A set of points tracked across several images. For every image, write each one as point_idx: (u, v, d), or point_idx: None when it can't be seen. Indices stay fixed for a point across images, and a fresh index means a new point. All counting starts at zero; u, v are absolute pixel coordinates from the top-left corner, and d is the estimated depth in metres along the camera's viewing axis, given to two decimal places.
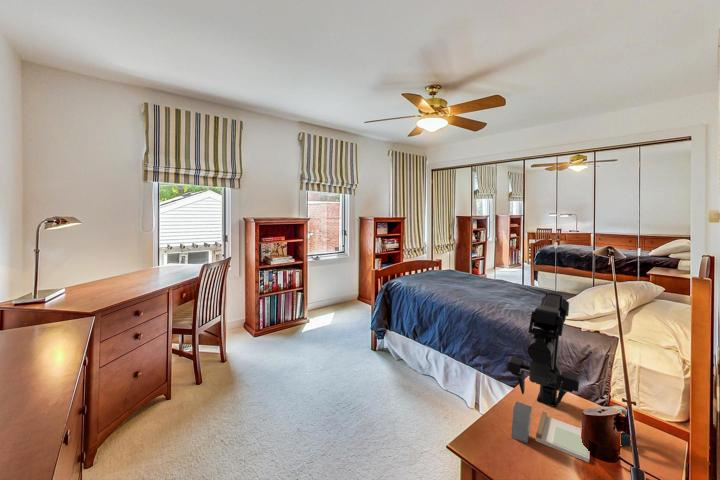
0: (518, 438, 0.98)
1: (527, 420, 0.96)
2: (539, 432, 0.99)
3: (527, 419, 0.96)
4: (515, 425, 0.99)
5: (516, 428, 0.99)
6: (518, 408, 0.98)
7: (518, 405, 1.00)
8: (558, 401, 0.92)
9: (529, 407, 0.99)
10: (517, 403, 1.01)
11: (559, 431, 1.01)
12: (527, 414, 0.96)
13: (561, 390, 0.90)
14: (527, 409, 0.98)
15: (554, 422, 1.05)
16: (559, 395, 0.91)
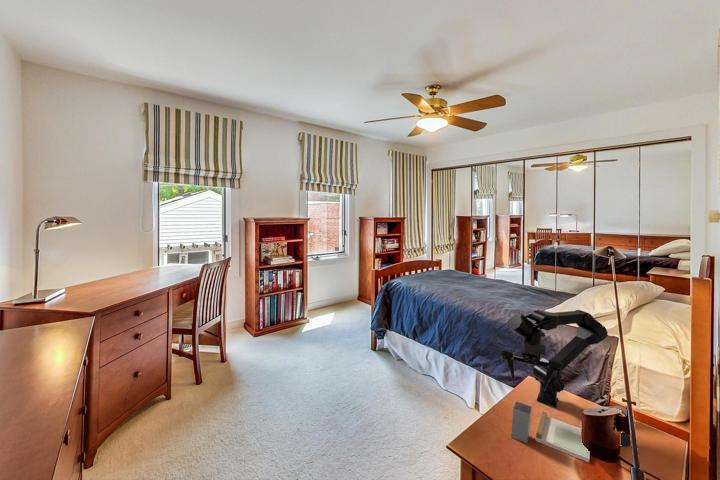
0: (518, 438, 0.98)
1: (527, 420, 0.96)
2: (539, 432, 0.99)
3: (527, 419, 0.96)
4: (515, 425, 0.99)
5: (516, 428, 0.99)
6: (518, 408, 0.98)
7: (518, 405, 1.00)
8: (545, 385, 1.03)
9: (529, 408, 0.99)
10: (517, 403, 1.01)
11: (559, 431, 1.01)
12: (527, 414, 0.96)
13: (548, 371, 1.04)
14: (527, 409, 0.98)
15: (554, 422, 1.05)
16: (546, 378, 1.04)
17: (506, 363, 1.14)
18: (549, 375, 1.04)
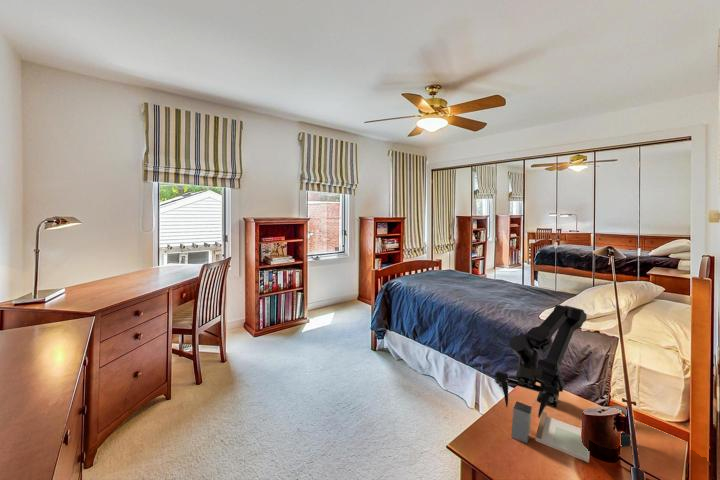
0: (518, 438, 0.98)
1: (527, 420, 0.96)
2: (539, 432, 0.99)
3: (527, 419, 0.96)
4: (515, 425, 0.99)
5: (516, 428, 0.99)
6: (518, 408, 0.98)
7: (518, 405, 1.00)
8: (540, 411, 0.97)
9: (529, 408, 0.99)
10: (517, 403, 1.01)
11: (559, 431, 1.01)
12: (527, 414, 0.96)
13: (543, 396, 0.98)
14: (527, 409, 0.98)
15: (554, 422, 1.05)
16: (541, 404, 0.98)
17: (500, 386, 1.08)
18: (545, 401, 0.98)
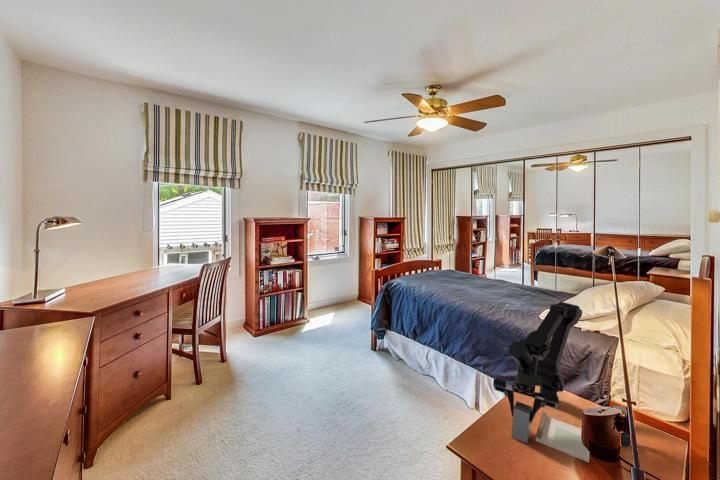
0: (518, 438, 0.98)
1: (527, 420, 0.96)
2: (539, 432, 0.99)
3: (527, 419, 0.96)
4: (516, 425, 0.98)
5: (516, 428, 0.99)
6: (518, 408, 0.98)
7: (518, 405, 1.00)
8: (532, 416, 0.97)
9: (529, 407, 0.99)
10: (518, 403, 1.01)
11: (559, 431, 1.01)
12: (527, 414, 0.96)
13: (535, 402, 0.98)
14: (527, 409, 0.98)
15: (554, 422, 1.05)
16: (533, 409, 0.98)
17: (505, 394, 1.06)
18: (536, 406, 0.98)
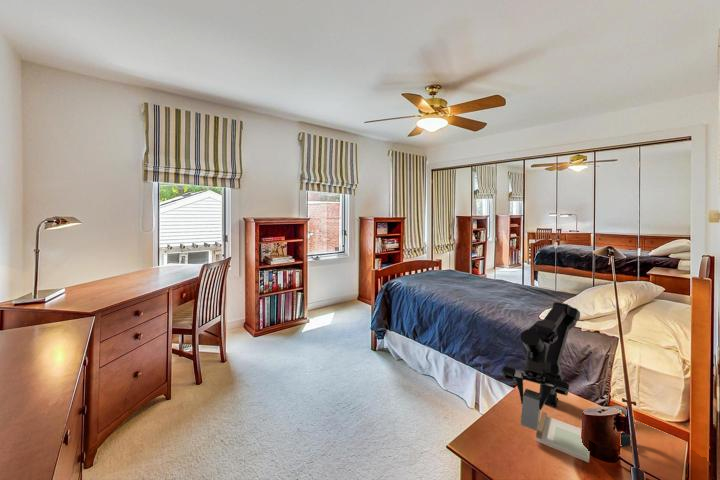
0: (528, 425, 0.98)
1: (537, 407, 0.96)
2: (539, 432, 0.99)
3: (537, 406, 0.95)
4: (525, 412, 0.98)
5: (525, 415, 0.98)
6: (528, 395, 0.98)
7: (527, 392, 0.99)
8: (541, 403, 0.96)
9: (539, 395, 0.98)
10: (527, 391, 1.00)
11: (559, 431, 1.01)
12: (537, 401, 0.95)
13: (545, 389, 0.97)
14: (537, 396, 0.97)
15: (554, 422, 1.05)
16: (543, 396, 0.97)
17: (514, 382, 1.05)
18: (546, 393, 0.97)
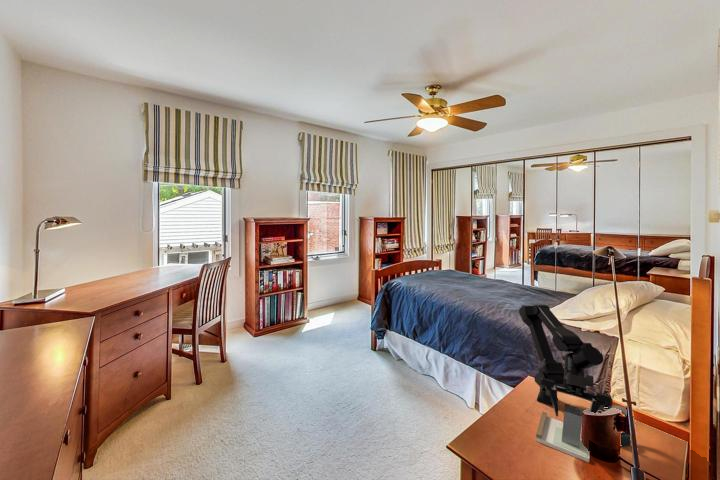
0: (569, 442, 0.95)
1: (580, 423, 0.93)
2: (539, 432, 0.99)
3: (580, 422, 0.93)
4: (566, 428, 0.95)
5: (567, 432, 0.95)
6: (569, 411, 0.95)
7: (568, 408, 0.97)
8: None
9: (580, 410, 0.96)
10: (567, 406, 0.98)
11: (559, 431, 1.01)
12: (580, 417, 0.93)
13: (593, 405, 0.94)
14: (578, 412, 0.95)
15: (554, 422, 1.05)
16: None
17: (547, 394, 1.03)
18: (595, 409, 0.94)
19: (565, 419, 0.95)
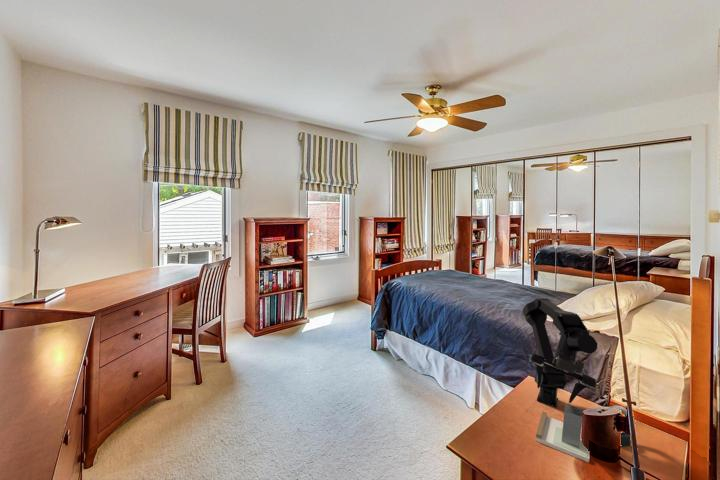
0: (569, 442, 0.95)
1: (580, 423, 0.93)
2: (539, 432, 0.99)
3: (580, 422, 0.93)
4: (566, 428, 0.95)
5: (567, 432, 0.95)
6: (569, 411, 0.95)
7: (568, 408, 0.97)
8: (572, 398, 1.00)
9: (580, 410, 0.96)
10: (567, 406, 0.98)
11: (559, 431, 1.01)
12: (580, 417, 0.93)
13: (579, 386, 0.99)
14: (578, 412, 0.95)
15: (554, 422, 1.05)
16: (575, 392, 1.00)
17: (533, 365, 1.09)
18: (579, 390, 0.99)
19: (565, 419, 0.95)
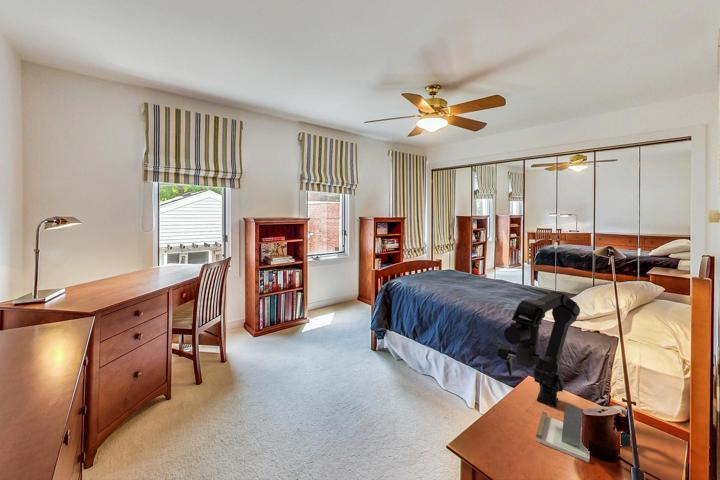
0: (569, 442, 0.95)
1: (580, 423, 0.93)
2: (539, 432, 0.99)
3: (580, 422, 0.93)
4: (566, 428, 0.95)
5: (567, 432, 0.95)
6: (569, 411, 0.95)
7: (568, 408, 0.97)
8: (541, 382, 1.05)
9: (580, 410, 0.96)
10: (567, 406, 0.98)
11: (559, 431, 1.01)
12: (580, 417, 0.93)
13: (543, 372, 1.04)
14: (578, 412, 0.95)
15: (554, 422, 1.05)
16: (541, 376, 1.05)
17: None
18: (544, 374, 1.04)
19: (565, 419, 0.95)
